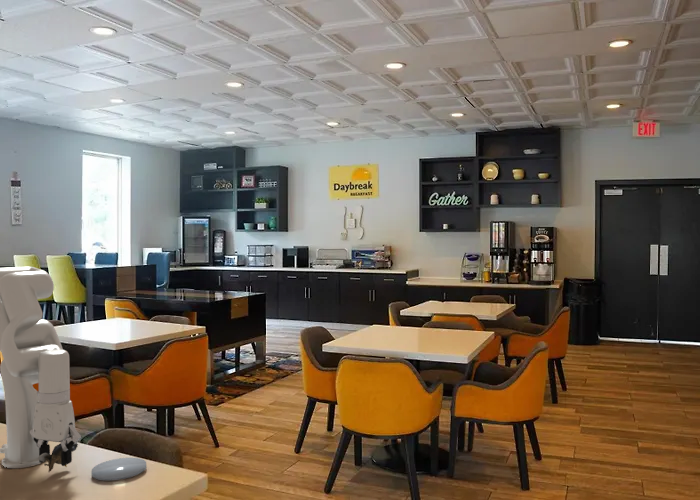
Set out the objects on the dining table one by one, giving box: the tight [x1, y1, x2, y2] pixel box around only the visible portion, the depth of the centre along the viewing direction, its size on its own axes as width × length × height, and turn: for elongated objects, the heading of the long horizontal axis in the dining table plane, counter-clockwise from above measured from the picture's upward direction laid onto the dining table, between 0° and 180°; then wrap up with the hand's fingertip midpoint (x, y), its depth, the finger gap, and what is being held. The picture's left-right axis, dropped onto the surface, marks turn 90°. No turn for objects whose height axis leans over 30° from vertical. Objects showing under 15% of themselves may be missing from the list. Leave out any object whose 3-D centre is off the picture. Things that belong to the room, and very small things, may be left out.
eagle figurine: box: [39, 440, 79, 473], centre depth 169 cm, size 8×7×9 cm
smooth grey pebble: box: [90, 457, 147, 481], centre depth 169 cm, size 14×14×2 cm
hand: (55, 461), depth 167 cm, fingers closed on eagle figurine, 6 cm apart
